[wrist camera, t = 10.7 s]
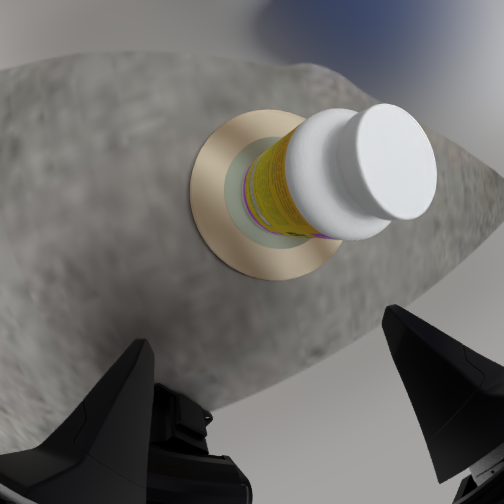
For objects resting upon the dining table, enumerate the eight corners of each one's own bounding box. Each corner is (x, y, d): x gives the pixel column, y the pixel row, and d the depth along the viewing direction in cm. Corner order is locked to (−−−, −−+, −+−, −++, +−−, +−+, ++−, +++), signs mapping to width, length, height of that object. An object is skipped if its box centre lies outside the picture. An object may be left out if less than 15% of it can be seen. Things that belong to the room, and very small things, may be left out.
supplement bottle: (254, 247, 21) (360, 273, 9) (228, 163, 20) (302, 80, 8) (328, 221, 23) (459, 220, 10) (305, 145, 22) (421, 84, 9)
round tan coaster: (280, 310, 24) (286, 314, 22) (152, 198, 20) (150, 195, 19) (369, 195, 25) (378, 194, 24) (268, 87, 22) (274, 80, 20)
